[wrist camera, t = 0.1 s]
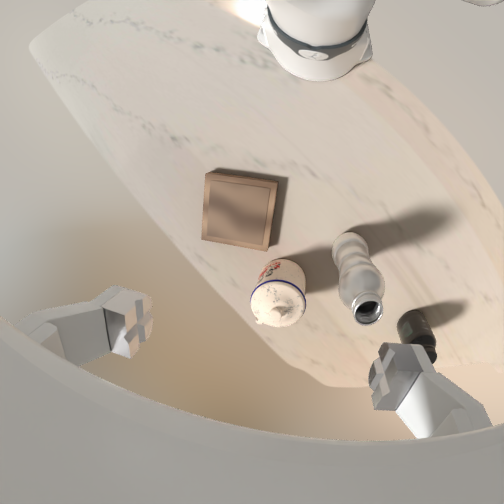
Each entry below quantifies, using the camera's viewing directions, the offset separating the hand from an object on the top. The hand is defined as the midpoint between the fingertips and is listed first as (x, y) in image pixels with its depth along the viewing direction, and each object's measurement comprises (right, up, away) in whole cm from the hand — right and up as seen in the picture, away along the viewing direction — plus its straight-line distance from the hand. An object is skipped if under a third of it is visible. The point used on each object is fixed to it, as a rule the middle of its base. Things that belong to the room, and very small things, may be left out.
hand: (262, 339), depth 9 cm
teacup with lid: (+5, -3, +44) cm, 44 cm away
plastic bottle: (+17, +4, +38) cm, 42 cm away
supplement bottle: (+34, -12, +42) cm, 55 cm away
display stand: (-3, +10, +39) cm, 41 cm away
